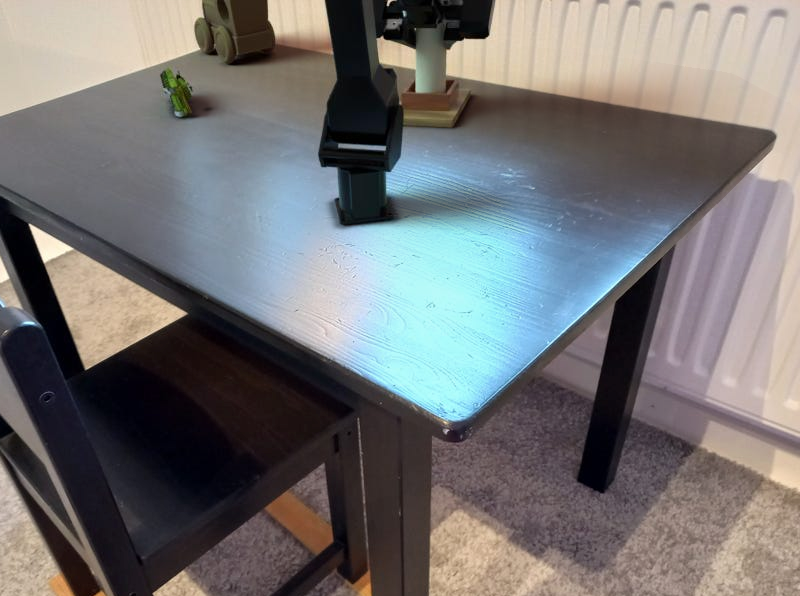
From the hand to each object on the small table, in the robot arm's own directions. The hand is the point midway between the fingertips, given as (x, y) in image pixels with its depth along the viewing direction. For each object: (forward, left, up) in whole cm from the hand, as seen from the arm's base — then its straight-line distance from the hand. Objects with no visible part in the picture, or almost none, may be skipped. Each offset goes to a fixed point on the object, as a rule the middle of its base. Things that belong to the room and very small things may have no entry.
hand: (433, 46), depth 107 cm
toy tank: (+17, +40, -9) cm, 45 cm away
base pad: (-1, +1, -9) cm, 9 cm away
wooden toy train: (+44, +31, -9) cm, 54 cm away
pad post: (-1, +1, -7) cm, 7 cm away
